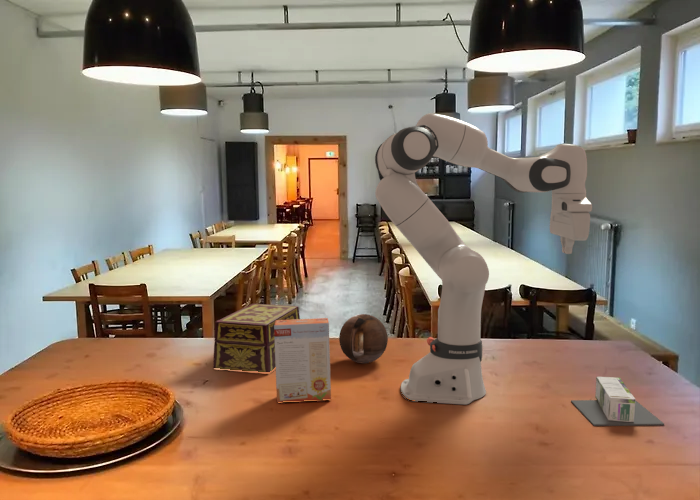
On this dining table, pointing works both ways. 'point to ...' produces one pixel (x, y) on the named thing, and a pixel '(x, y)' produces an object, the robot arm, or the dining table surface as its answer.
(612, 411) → the syrup box
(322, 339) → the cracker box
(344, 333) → the wooden sphere
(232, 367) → the decorative box
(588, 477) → the dining table surface
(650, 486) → the dining table surface
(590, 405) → the mat
